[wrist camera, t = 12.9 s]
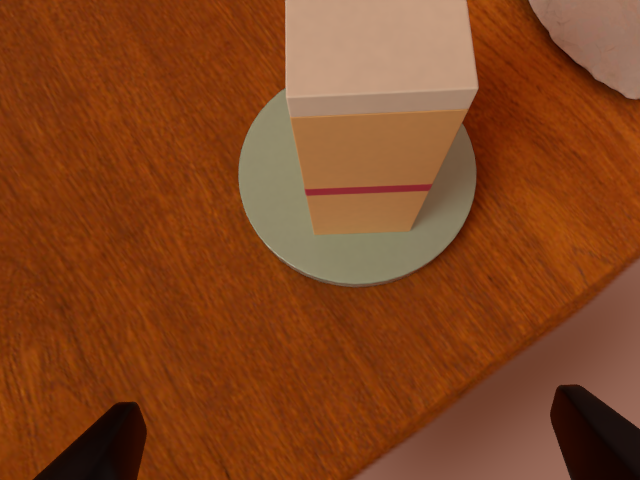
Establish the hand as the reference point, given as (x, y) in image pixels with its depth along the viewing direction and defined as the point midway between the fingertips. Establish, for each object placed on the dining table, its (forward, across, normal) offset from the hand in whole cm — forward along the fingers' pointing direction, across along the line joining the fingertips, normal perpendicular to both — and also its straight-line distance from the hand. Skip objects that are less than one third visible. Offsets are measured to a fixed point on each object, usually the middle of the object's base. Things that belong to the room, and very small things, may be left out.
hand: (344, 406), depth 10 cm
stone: (+25, -16, -6) cm, 30 cm away
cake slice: (+17, -1, +1) cm, 17 cm away
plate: (+18, -1, +2) cm, 18 cm away
